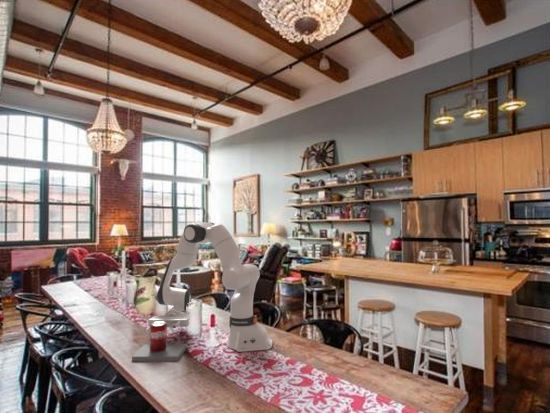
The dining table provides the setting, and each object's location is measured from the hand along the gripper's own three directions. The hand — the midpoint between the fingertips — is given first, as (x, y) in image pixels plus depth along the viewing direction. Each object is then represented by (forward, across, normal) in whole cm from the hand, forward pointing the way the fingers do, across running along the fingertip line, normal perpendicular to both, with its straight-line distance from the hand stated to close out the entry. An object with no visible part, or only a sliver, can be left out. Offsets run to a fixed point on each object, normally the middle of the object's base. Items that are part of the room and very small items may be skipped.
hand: (164, 326), depth 157 cm
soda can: (+8, 0, +8) cm, 12 cm away
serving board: (+8, +1, +10) cm, 13 cm away
